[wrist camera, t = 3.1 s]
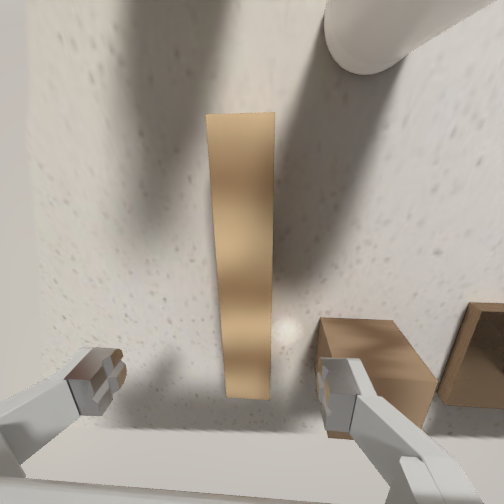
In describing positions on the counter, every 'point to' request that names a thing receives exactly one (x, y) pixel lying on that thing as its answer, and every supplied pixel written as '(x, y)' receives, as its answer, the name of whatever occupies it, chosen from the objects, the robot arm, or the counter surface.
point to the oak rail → (244, 245)
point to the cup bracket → (477, 360)
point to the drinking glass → (388, 29)
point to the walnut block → (380, 363)
